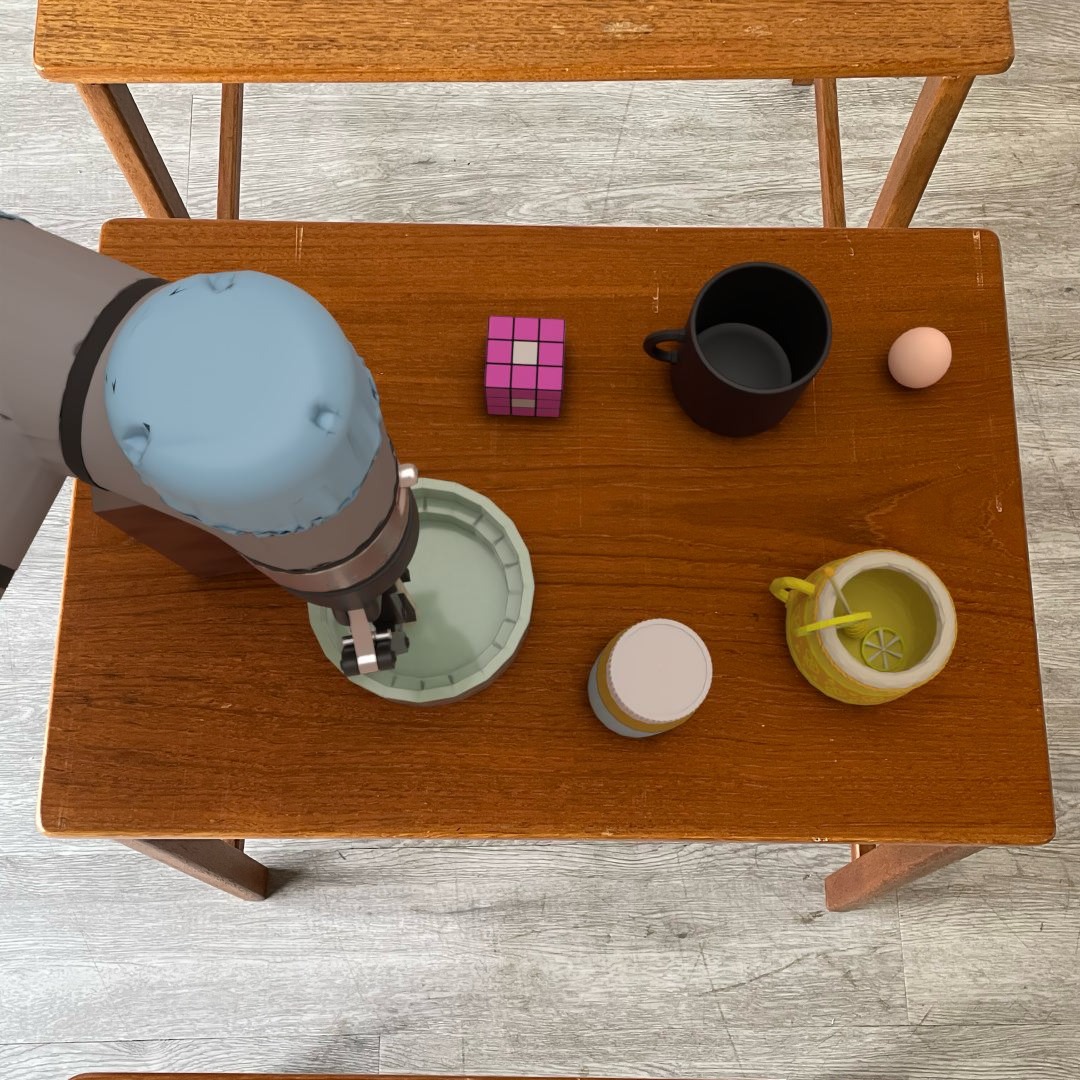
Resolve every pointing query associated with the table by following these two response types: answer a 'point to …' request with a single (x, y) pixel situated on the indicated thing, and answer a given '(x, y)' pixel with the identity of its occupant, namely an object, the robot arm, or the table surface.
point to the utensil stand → (169, 536)
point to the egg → (920, 357)
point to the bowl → (452, 601)
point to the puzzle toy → (524, 366)
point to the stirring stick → (403, 590)
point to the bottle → (650, 678)
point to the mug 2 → (869, 625)
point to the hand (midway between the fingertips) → (392, 599)
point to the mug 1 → (747, 347)
